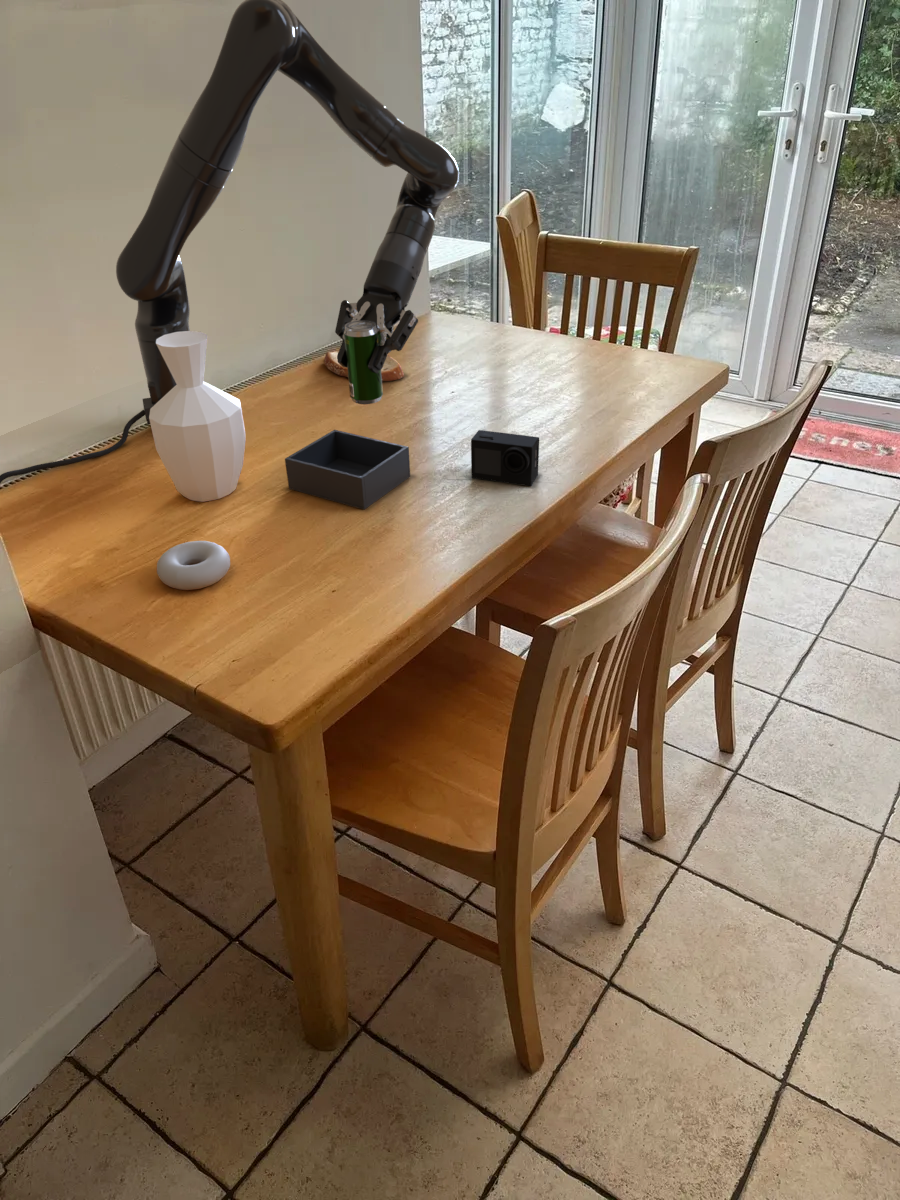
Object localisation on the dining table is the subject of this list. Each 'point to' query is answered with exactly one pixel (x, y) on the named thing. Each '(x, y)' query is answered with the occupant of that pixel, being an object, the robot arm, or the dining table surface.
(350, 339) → the beer can
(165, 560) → the donut
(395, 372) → the bread slice
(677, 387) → the dining table surface
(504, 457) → the digital camera
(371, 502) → the open rectangular tray
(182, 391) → the vase
